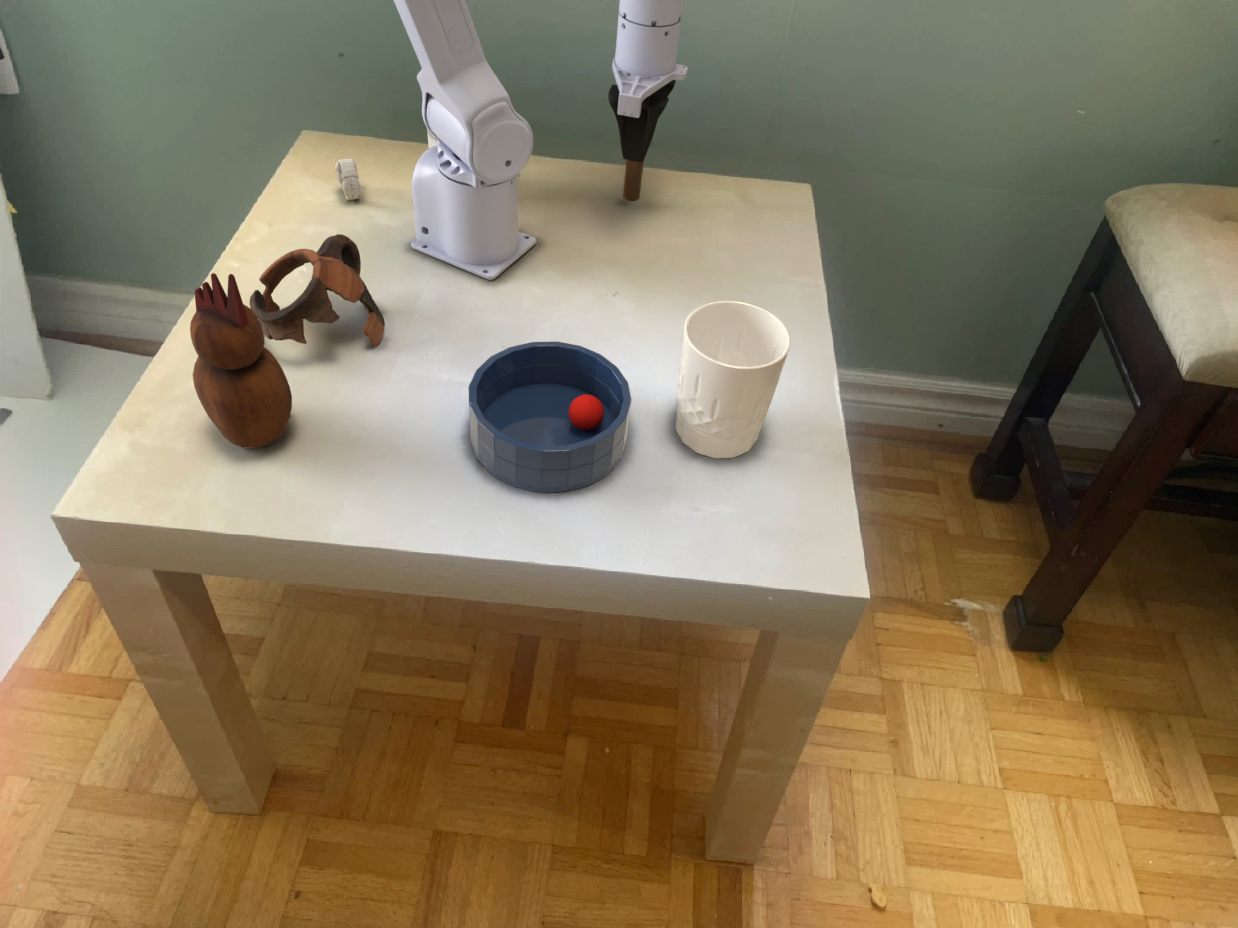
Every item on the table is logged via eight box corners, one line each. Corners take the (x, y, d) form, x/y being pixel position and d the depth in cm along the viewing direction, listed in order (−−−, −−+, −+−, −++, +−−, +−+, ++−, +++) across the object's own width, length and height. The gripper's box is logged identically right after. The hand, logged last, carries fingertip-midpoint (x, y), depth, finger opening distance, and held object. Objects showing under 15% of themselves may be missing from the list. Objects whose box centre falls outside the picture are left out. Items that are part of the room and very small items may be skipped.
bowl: (439, 450, 70) (435, 408, 67) (526, 364, 78) (526, 322, 75) (575, 516, 67) (578, 475, 64) (652, 419, 75) (658, 378, 71)
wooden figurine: (313, 436, 70) (276, 273, 59) (244, 472, 67) (191, 308, 56) (265, 390, 73) (221, 228, 62) (197, 423, 70) (139, 258, 59)
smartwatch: (365, 205, 93) (360, 168, 90) (343, 207, 92) (337, 171, 89) (359, 187, 95) (354, 151, 92) (337, 189, 94) (332, 153, 91)
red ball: (561, 428, 72) (562, 402, 70) (579, 408, 74) (581, 382, 72) (591, 442, 72) (594, 416, 69) (609, 421, 73) (611, 396, 71)
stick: (619, 198, 96) (628, 105, 89) (627, 190, 97) (637, 99, 90) (634, 203, 95) (644, 111, 88) (642, 196, 97) (653, 104, 89)
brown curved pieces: (381, 374, 76) (315, 315, 70) (293, 391, 80) (223, 336, 74) (409, 263, 82) (351, 199, 76) (326, 284, 86) (264, 224, 79)
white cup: (737, 480, 71) (762, 383, 63) (650, 436, 73) (664, 339, 66) (780, 422, 76) (807, 326, 68) (696, 384, 78) (715, 287, 71)
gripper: (680, 53, 77) (661, 196, 87) (705, -7, 87) (685, 128, 97) (599, 39, 78) (590, 183, 88) (632, -19, 88) (621, 116, 98)
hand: (635, 153), depth 93 cm, fingers closed on stick, 2 cm apart
